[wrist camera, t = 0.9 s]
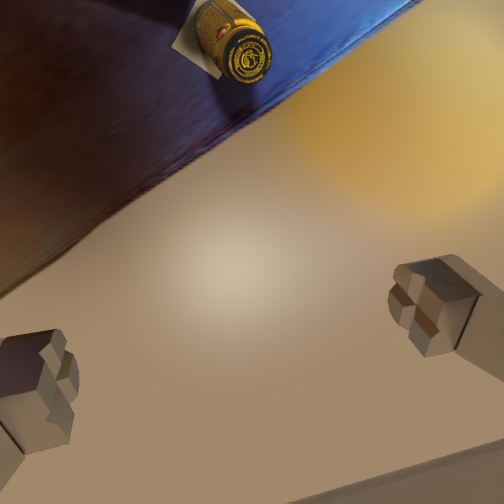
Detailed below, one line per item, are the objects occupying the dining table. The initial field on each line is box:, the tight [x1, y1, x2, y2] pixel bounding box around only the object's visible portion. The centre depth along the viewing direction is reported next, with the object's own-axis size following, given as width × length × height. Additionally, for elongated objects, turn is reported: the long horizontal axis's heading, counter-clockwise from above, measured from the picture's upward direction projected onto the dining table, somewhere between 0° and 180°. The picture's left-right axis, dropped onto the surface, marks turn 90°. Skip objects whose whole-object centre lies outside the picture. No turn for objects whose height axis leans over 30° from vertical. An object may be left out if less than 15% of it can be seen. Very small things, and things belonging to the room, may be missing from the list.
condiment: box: [172, 0, 272, 85], centre depth 41 cm, size 7×8×12 cm
